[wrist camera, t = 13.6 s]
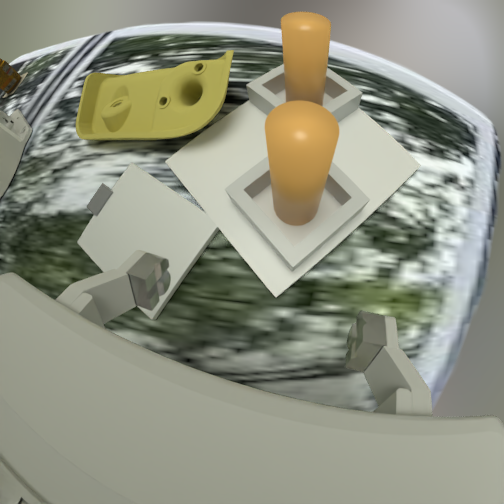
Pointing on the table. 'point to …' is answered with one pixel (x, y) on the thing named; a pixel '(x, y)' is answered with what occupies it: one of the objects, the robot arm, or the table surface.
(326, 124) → the pin
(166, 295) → the lid
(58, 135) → the table surface
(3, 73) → the condiment
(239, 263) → the table surface
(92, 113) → the plastic component
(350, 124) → the housing
